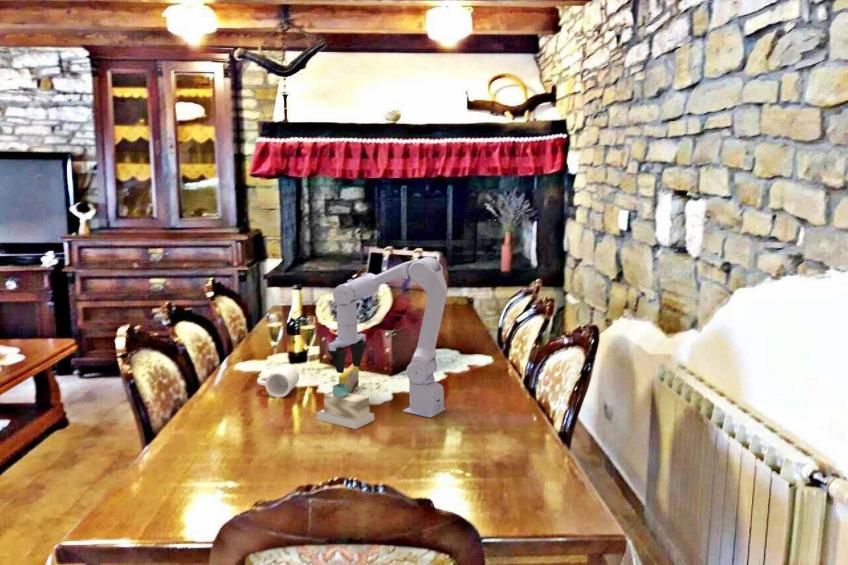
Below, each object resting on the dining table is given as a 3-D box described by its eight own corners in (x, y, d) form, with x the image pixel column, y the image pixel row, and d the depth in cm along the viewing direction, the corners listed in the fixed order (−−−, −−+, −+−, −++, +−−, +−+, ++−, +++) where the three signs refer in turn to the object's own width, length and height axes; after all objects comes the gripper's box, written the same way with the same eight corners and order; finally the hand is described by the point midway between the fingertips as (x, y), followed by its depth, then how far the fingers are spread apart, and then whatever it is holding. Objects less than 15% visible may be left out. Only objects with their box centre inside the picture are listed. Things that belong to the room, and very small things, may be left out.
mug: (299, 388, 226) (298, 363, 225) (291, 398, 217) (289, 372, 215) (263, 387, 228) (262, 363, 226) (252, 397, 218) (251, 372, 217)
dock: (374, 420, 197) (373, 413, 196) (355, 429, 190) (355, 421, 190) (335, 411, 204) (335, 404, 204) (316, 419, 198) (316, 412, 198)
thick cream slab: (369, 414, 195) (369, 397, 195) (358, 420, 191) (357, 402, 190) (336, 406, 202) (335, 390, 201) (324, 412, 198) (323, 394, 197)
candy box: (345, 404, 211) (344, 377, 209) (338, 403, 211) (337, 377, 210) (359, 387, 226) (358, 362, 225) (353, 387, 227) (352, 362, 226)
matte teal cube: (348, 395, 196) (348, 384, 196) (341, 398, 194) (341, 387, 193) (340, 393, 198) (339, 383, 198) (333, 396, 196) (332, 385, 195)
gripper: (352, 318, 215) (353, 361, 218) (320, 327, 203) (321, 373, 206) (370, 320, 211) (371, 365, 214) (338, 330, 200) (340, 377, 202)
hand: (348, 369), depth 209 cm, fingers open, 7 cm apart
